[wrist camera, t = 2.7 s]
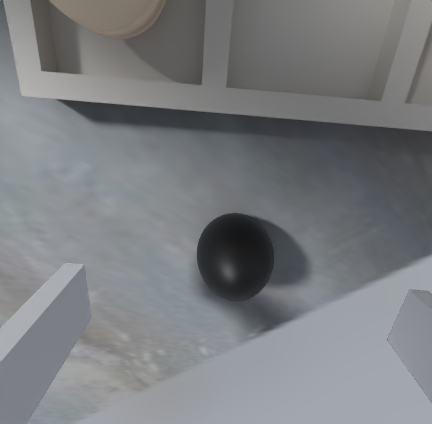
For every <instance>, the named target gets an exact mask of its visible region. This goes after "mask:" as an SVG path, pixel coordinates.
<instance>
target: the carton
mask: <svg viewBox="0 0 432 424" xmlns="http://www.w3.org/2000/svg"><path fill="white" fill-rule="evenodd" d="M3 2H4V7H5V12H6V17H7V23H8V28H9V33H10V38H11V43H12V49H13V54H14V59H15V64H16V69H17V75H18V80H19V85H20V90H21V96H28V97H40V98H51V99H63V100H75V101H86V102H98V103H109V104H121V105H133V106H144V107H156V108H167V109H179V110H191V111H202V112H214V113H225V114H237V115H249V116H260V117H272V118H283V119H295V120H307V121H318V122H330V123H341V124H353V125H365V126H376V127H388V128H399V129H411V130H423V131H432V0H3Z"/></svg>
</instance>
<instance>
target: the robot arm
mask: <svg viewBox="0 0 432 424" xmlns="http://www.w3.org/2000/svg"><path fill="white" fill-rule="evenodd" d="M90 319H91V311H90V303H89V296H88V288H87V281H86V273H85V265H84V264H73V263H64V264H63V265H62V266H61V267H60V268H59V269H58V270H57V271H56V272H55V273H54V274H53V275H52V277H51V278H50V279H49V280H48V281H47V282H46V283H45V284H44V285H43V286H42V287H41V288H40V289H39V290H38V291H37V292H36V293H35V294H34V295H33V296H32V297H31V298H30V299H29V300H28V301H27V302H26V303H25V304H24V305H23V306H22V307H21V308H20V309H19V310H18V311H17V312H16V313H15V314H14V315H13V316H12V317H11V318H10V319H9V320H8V321H7V322H6V323H5V324H4V325H3V326H2V327H1V328H0V424H27V422H28V420H29V419H30V417H31V416H32V414H33V412H34V411H35V409H36V407H37V406H38V404H39V402H40V401H41V399H42V398H43V396H44V394H45V393H46V391H47V389H48V388H49V386H50V384H51V383H52V381H53V380H54V378H55V376H56V375H57V373H58V371H59V370H60V368H61V366H62V365H63V363H64V362H65V360H66V358H67V357H68V355H69V353H70V352H71V350H72V348H73V347H74V345H75V344H76V342H77V340H78V339H79V337H80V335H81V334H82V332H83V330H84V329H85V327H86V326H87V324H88V322H89V321H90ZM387 340H388V342H389V343H390V345H391V346H392V347H393V349H394V350H395V352H396V353H397V354H398V356H399V357H400V359H401V360H402V362H403V363H404V364H405V366H406V367H407V368H408V370H409V371H410V373H411V374H412V376H413V377H414V378H415V380H416V381H417V382H418V384H419V385H420V387H421V388H422V390H423V391H424V392H425V394H426V395H427V397H428V398H429V400H430V401H431V402H432V294H431V293H430V292H428V291H420V290H409V292H408V294H407V296H406V298H405V301H404V303H403V305H402V308H401V310H400V312H399V314H398V316H397V318H396V321H395V323H394V325H393V327H392V330H391V332H390V334H389V336H388V339H387Z"/></svg>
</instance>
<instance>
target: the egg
mask: <svg viewBox="0 0 432 424" xmlns="http://www.w3.org/2000/svg"><path fill="white" fill-rule="evenodd" d="M197 261H198V266H199V270H200V273H201V275H202V277H203V279H204V281H205V282H206V284H207V285H208V286H209V288H210V289H211V290H212V291H214V292H215V293H216V294H217V295H219V296H221V297H223V298H225V299H228V300H232V301H243V300H247V299H249V298H251V297H253V296H255V295H256V294H258V293H259V292H260V291H261V290H262V289H263V288H264V286H265V285H266V283H267V282H268V280H269V278H270V275H271V273H272V269H273V263H274V252H273V246H272V242H271V240H270V237H269V235H268V233H267V232H266V230H265V229H264V228H263V226H262V225H261V224H260V223H258V222H257V221H256V220H254V219H253V218H251V217H249V216H246V215H243V214H237V213H232V214H226V215H222V216H220V217H218V218H216V219H214V220H213V221H212V222H211V223H209V224H208V226H207V227H206V228H205V229H204V231H203V232H202V234H201V237H200V239H199V242H198V247H197Z"/></svg>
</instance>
